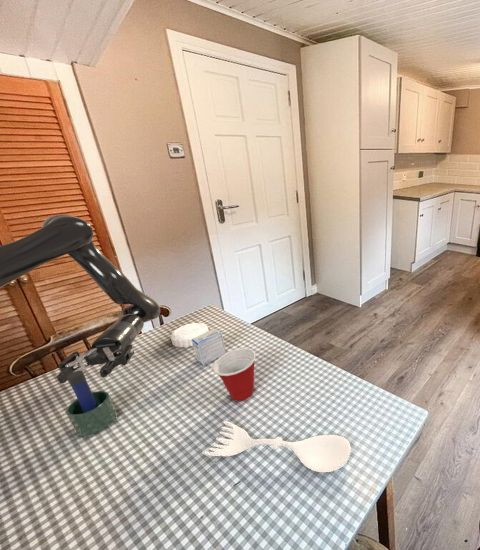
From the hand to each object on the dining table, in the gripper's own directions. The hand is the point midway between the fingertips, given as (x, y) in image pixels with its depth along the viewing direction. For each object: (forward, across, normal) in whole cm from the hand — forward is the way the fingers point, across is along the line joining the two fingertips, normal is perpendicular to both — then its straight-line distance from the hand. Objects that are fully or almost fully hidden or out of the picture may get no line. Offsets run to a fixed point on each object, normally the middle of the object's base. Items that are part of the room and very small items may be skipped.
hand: (81, 377), depth 72 cm
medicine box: (-20, +22, +14) cm, 33 cm away
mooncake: (-35, +12, +14) cm, 39 cm away
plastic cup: (0, +34, +14) cm, 37 cm away
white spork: (+21, +45, +14) cm, 52 cm away
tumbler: (+1, 0, +14) cm, 14 cm away
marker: (+1, 0, +13) cm, 13 cm away
